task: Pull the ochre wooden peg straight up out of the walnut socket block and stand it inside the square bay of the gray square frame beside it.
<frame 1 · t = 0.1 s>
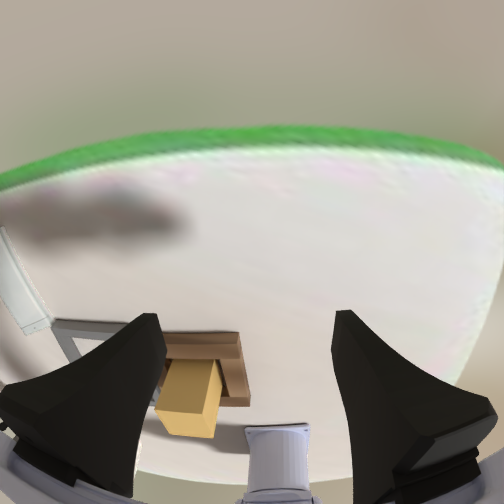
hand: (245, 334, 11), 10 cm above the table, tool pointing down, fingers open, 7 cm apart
socket block: (199, 368, 25), on the table
gray square frame: (111, 361, 26), on the table
peg: (192, 394, 22), in the socket block
hard drive: (18, 281, 24), on the table
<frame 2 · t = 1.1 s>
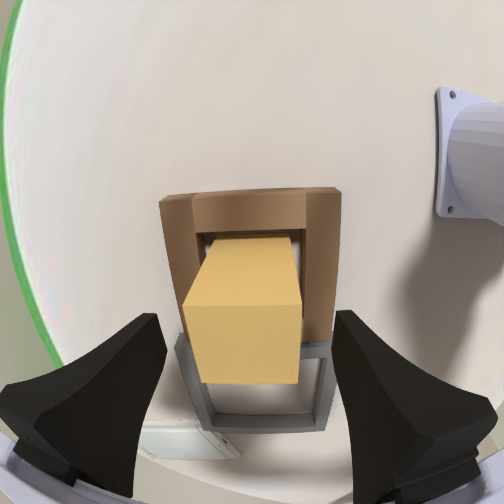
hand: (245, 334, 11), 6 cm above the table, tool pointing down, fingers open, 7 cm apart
socket block: (254, 267, 16), on the table
gray square frame: (261, 385, 20), on the table
peg: (250, 299, 13), in the socket block
white cup: (435, 404, 22), on the table
hard drive: (178, 435, 26), on the table
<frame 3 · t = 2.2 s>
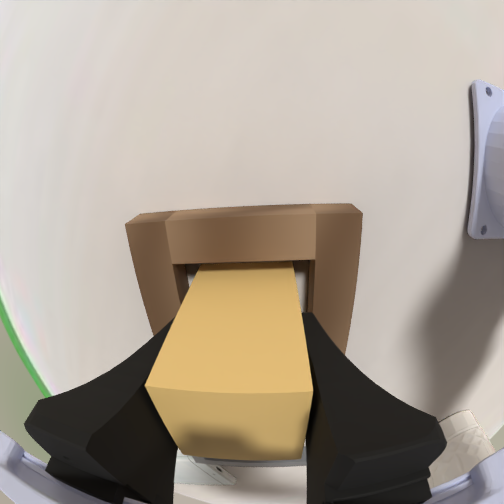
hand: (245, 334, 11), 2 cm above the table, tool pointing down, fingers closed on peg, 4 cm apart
socket block: (248, 301, 13), on the table
gray square frame: (258, 422, 17), on the table
peg: (243, 353, 10), in the socket block, touching gripper
white cup: (444, 427, 19), on the table
hard drive: (170, 460, 23), on the table
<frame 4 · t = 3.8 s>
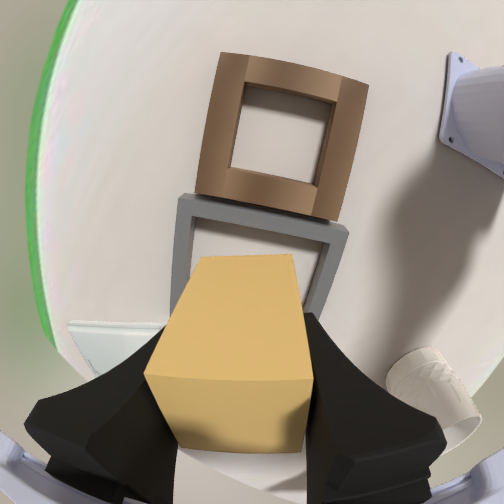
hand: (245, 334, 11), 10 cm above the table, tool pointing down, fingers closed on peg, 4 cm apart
socket block: (281, 133, 16), on the table
gray square frame: (250, 280, 21), on the table
peg: (242, 344, 10), point 10 cm above the table, touching gripper
white cup: (412, 368, 24), on the table
hard drive: (132, 349, 26), on the table
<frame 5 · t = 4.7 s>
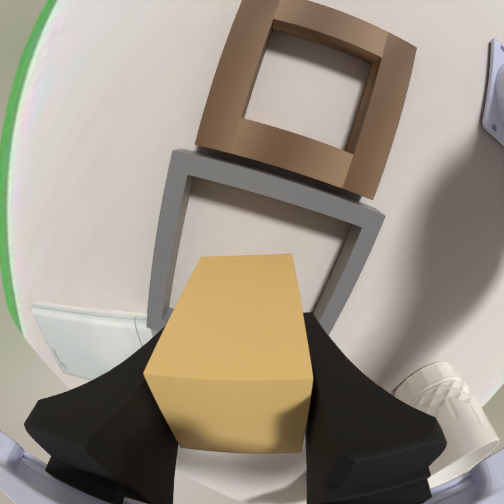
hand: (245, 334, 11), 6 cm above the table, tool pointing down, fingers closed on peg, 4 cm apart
socket block: (310, 87, 12), on the table
gray square frame: (253, 267, 16), on the table
peg: (242, 344, 10), point 7 cm above the table, touching gripper
white cup: (423, 384, 20), on the table
hard drive: (103, 342, 21), on the table
when the fingers open (3 cm above the table, at t = 5.6 s): peg stays where it is, resting in gray square frame.
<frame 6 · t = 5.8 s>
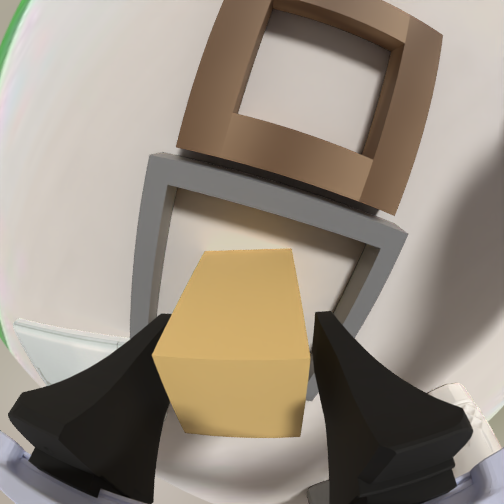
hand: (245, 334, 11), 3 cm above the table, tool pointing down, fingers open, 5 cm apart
socket block: (319, 76, 10), on the table
gray square frame: (249, 292, 14), on the table
peg: (244, 333, 10), in the gray square frame
white cup: (432, 405, 18), on the table
hard drive: (89, 362, 18), on the table
coffeepot: (331, 486, 26), on the table
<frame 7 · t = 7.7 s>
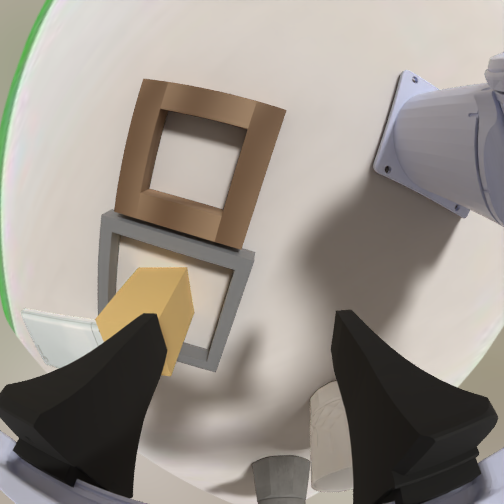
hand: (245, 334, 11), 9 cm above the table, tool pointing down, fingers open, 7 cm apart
socket block: (195, 159, 17), on the table
gray square frame: (166, 293, 21), on the table
peg: (151, 316, 18), in the gray square frame
white cup: (340, 396, 26), on the table
hard drive: (74, 340, 25), on the table
coffeepot: (274, 466, 33), on the table
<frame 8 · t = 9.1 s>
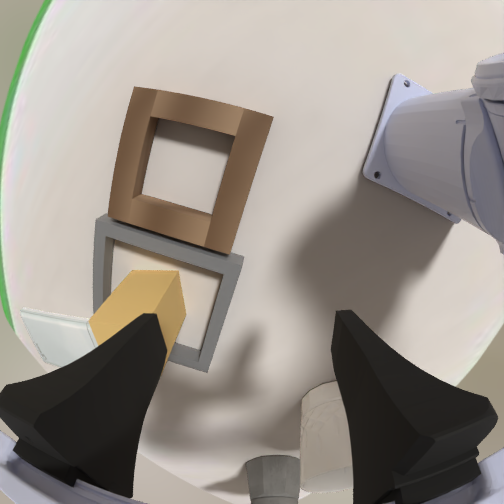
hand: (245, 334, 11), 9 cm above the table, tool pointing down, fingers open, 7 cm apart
socket block: (186, 165, 17), on the table
gray square frame: (159, 295, 21), on the table
peg: (143, 318, 18), in the gray square frame
white cup: (331, 398, 26), on the table
hard drive: (71, 339, 26), on the table
coffeepot: (268, 465, 34), on the table
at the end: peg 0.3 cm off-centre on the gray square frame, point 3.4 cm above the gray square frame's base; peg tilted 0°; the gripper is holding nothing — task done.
